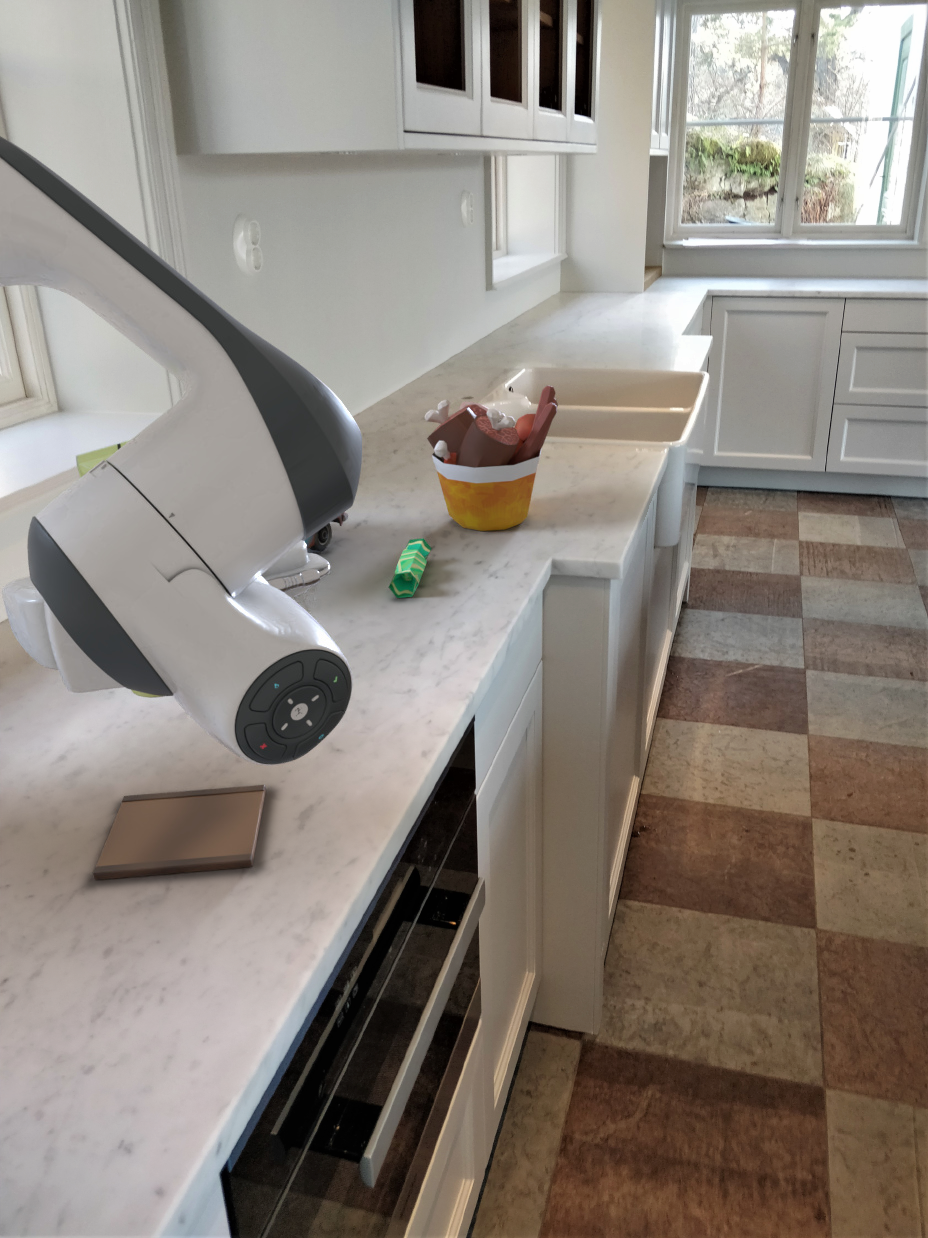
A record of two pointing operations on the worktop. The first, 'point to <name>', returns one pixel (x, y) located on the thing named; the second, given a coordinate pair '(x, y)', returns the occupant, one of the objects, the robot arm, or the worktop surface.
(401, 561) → the candy
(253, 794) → the brown rectangular board
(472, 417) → the bucket of meat
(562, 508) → the worktop surface
